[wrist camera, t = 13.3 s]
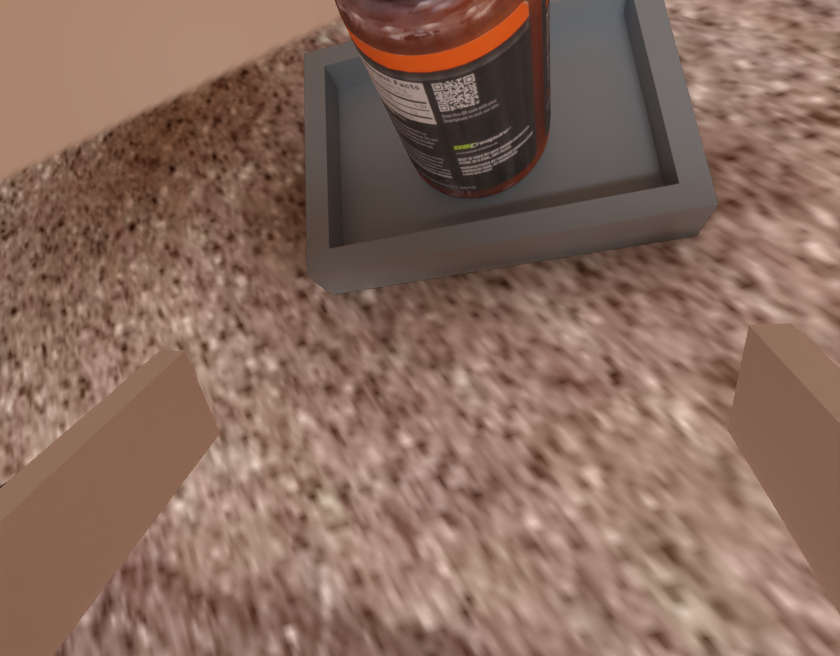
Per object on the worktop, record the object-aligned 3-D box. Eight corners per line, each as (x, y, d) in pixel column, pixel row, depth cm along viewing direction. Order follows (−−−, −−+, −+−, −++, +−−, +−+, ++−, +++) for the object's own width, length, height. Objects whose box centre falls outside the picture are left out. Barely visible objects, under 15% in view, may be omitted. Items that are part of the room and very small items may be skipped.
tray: (332, 294, 22) (306, 275, 19) (326, 91, 25) (303, 53, 22) (696, 235, 18) (718, 203, 16) (640, 9, 21) (651, -45, 19)
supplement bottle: (494, 57, 22) (441, -328, 11) (581, 143, 20) (622, -228, 9) (386, 140, 22) (234, -155, 11) (461, 232, 20) (362, -20, 9)
